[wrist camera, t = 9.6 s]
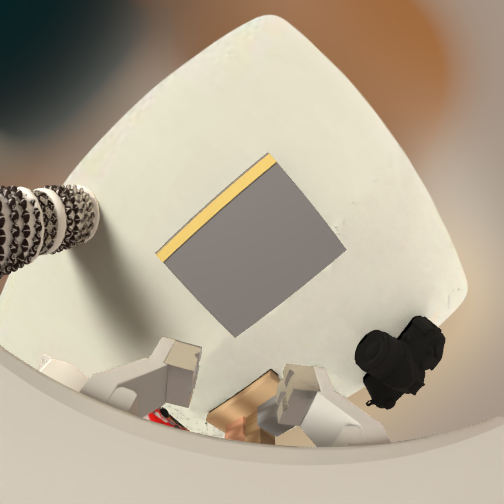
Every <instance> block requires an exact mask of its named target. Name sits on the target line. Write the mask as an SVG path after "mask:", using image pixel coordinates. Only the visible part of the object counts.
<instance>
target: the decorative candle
mask: <svg viewBox="0 0 504 504" xmlns="http://www.w3.org/2000/svg"><path fill="white" fill-rule="evenodd" d="M64 188H65V187H64V185H59V186H55V185H54V186H53V185H52V186H45V187H44V188H38V189H35V190H30V189H27V188H24V187H18V188H17V187H15V186H12V187H10V186H9V187H7V188H5V186H0V279H1V278H2V277H3V275H8V274H10V273H11V271H13V272H15V271H17V270H18V268H22V267H24V264H30V263H32V262H33V261H34V260H35V259H36V258H37V257H38V256H39V255H46V254H49V253H50V254H55V253H56V252H61V251H62V250H63V249H65V250H66V249H70V248H71V247H75V246H77V245H81V244H83V243H86V242H87V241H88V240H90V239H91V238H92V237H93V236H94V234H95V232H96V230H97V229H98V224H99V219H100V212H99V204H98V202H97V200H96V198H95V195H94V194H93V193H92V192H91V191H90V190H89V189H88V188H87V187H84V186H80V185H73V186H72V187H71V185H66V188H65V189H64Z"/></svg>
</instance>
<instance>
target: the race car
mask: <svg viewBox="0 0 504 504" xmlns="http://www.w3.org/2000/svg"><path fill="white" fill-rule="evenodd" d="M160 408H161V407H159V408H158V409H156V410H154V411H153V412H151V413H150V414H148V415H146V416H145V417H143V418H144V419H147V420H151V421H154V422H157V423H160V424H164V425H167V426H171V427H174V428H178V429H182V430H186V431H189V430H188V429H187V428H185V427H184V426H183V425H182V424H180V423H179V422H178V421H177V420H176V419H174V418H173V417H172V416H171V415H169V413H168V411H167V410H166V409H165V408H161V409H160Z"/></svg>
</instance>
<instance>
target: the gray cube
mask: <svg viewBox="0 0 504 504" xmlns="http://www.w3.org/2000/svg"><path fill="white" fill-rule="evenodd" d="M278 407H279V406H278V405H277V404H276V395H275V396H273V397H272V398H270V399H269V400H267V401H266V402H264V403H263V404H261V405H260V406H258V407H257V426H259V427H261V428H262V429H264V430H266V431H268V432H269V433H271V434H273V435H275V436H279V435H281V434H282V433H284V432H286V431H288V430H289V429H291V428H293V427H294V426H296V425H287V424H278V417H277V410H278Z"/></svg>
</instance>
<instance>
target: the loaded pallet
mask: <svg viewBox="0 0 504 504" xmlns="http://www.w3.org/2000/svg"><path fill="white" fill-rule="evenodd" d="M280 380H281V379H280V378H279V377H278V374H277V373H276V372H275V371H273V370H272V369H270V370H268V371H267V372H266V373H264V374H263V375H262V376H260V377H259V378H258V379H256V380H255V381H253V382H252V383H251V384H249V385H248V386H246V387H245V388H244V389H242V390H241V391H239V392H238V393H236V394H235V395H234V396H232V397H231V398H229V399H228V400H226V401H225V402H223V403H222V404H220V405H219V406H217V407H216V408H214V409H213V410H211V411H209V413H208V415H207V418H206V421H207V422H208V423H210V424H212V425H213V426H215V427H216V428H218V429H220V430H221V431H223V432H225V431H226V426H227V425H229V424H231V423H232V422H234V421H236V420H237V419H239V418H241V417H242V416H244V417H246V422H245V442H251V443H259V444H269V445H275V436H274V435H273V434H271V433H269V432H268V431H266V430H264V429H262V428H261V427H259V426H257V407H258V406H260V405H261V404H263V403H264V402H266V401H267V400H269V399H270V398H272V397H273V396H275V395H276V392H277V387H278V384H279V381H280Z"/></svg>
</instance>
